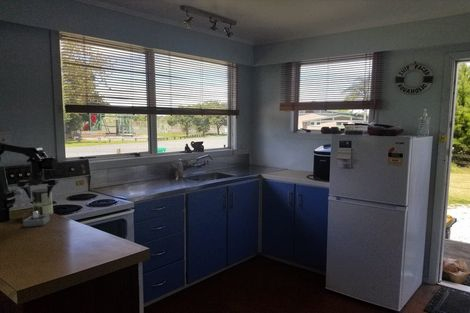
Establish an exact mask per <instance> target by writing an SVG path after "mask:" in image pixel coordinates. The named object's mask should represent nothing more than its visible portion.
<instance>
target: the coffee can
mask: <svg viewBox="0 0 470 313" xmlns="http://www.w3.org/2000/svg"><path fill="white" fill-rule="evenodd" d="M52 191H53V190H52ZM52 191H51V194H50V197H49V198H48V196H47V193H48V188H39V189H34V190H31V200H32V208H33V209H32V211H38V212H40V216H43V215H49V216H50V215H52V214H54V205H53V192H52Z"/></svg>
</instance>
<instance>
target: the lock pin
mask: <svg viewBox="0 0 470 313" xmlns="http://www.w3.org/2000/svg"><path fill="white" fill-rule="evenodd" d="M32 211H33V210H32ZM33 219H34V220H39V215H38V211H33Z"/></svg>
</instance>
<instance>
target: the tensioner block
mask: <svg viewBox="0 0 470 313" xmlns="http://www.w3.org/2000/svg"><path fill="white" fill-rule="evenodd" d="M38 215H39V216H40V212H38ZM30 216H33V210H30V211H29V212H27V213H26V214H23V215H22V217H21V220H22V223H23V221H24V220H26V219H27V218H29V217H30Z"/></svg>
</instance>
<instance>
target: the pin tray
mask: <svg viewBox="0 0 470 313" xmlns="http://www.w3.org/2000/svg"><path fill="white" fill-rule="evenodd" d="M50 218H51V216H50V215H43V216H39V220H34V219H33V216H30V217H29V218H27V219H26V220H24V221H23V222H22V223H23V228H25V227H26V228H27V227H40V226H42V227H43V226H45V225H46V224H48V223H49V222H50V221H51V220H50Z"/></svg>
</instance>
